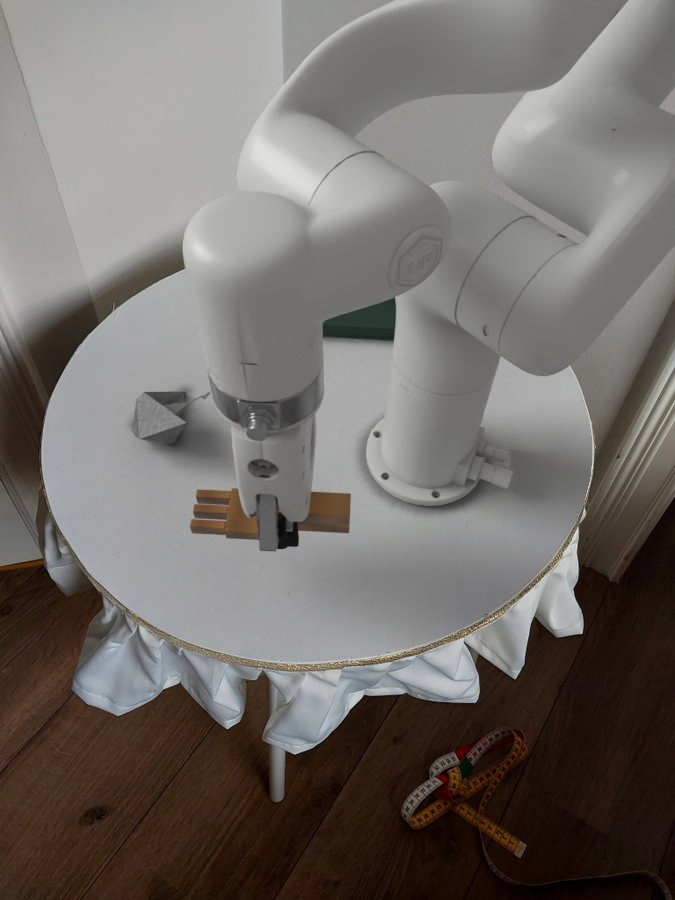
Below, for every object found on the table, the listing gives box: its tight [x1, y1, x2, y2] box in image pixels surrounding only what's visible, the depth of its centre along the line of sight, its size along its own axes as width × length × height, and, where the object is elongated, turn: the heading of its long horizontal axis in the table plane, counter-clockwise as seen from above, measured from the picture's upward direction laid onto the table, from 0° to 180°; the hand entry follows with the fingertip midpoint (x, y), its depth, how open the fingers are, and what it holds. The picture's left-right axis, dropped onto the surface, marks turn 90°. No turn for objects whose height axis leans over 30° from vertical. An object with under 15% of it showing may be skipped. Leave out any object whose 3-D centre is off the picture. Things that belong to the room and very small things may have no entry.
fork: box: [189, 487, 352, 541], centre depth 62 cm, size 14×4×3 cm, turn 87°
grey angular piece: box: [131, 391, 211, 445], centre depth 77 cm, size 12×6×9 cm
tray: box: [323, 297, 396, 342], centre depth 90 cm, size 17×9×2 cm, turn 87°
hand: (282, 515), depth 63 cm, fingers closed on fork, 4 cm apart
